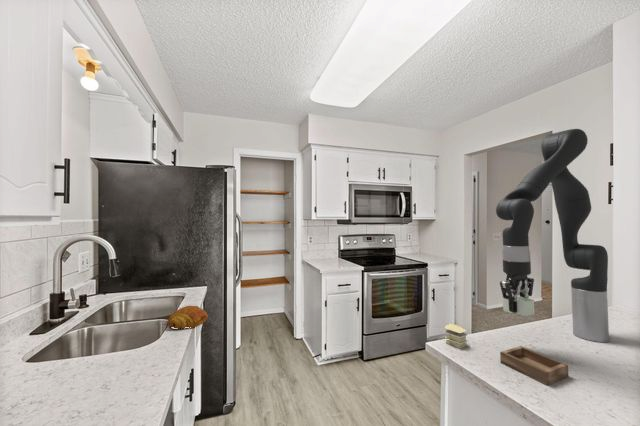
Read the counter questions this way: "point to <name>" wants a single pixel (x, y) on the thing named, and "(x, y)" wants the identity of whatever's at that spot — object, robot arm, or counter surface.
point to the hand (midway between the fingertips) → (518, 310)
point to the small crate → (521, 307)
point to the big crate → (534, 365)
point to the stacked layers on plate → (455, 335)
